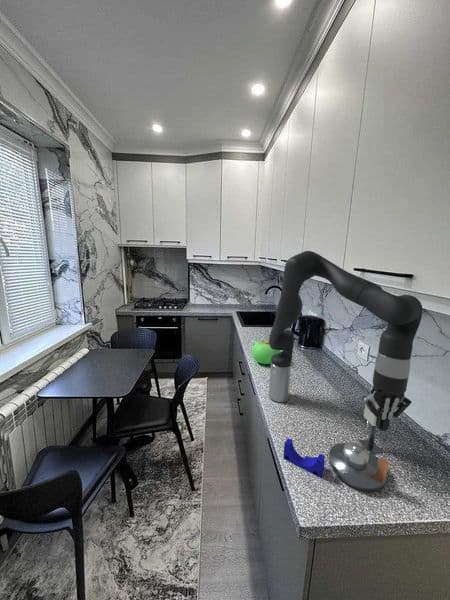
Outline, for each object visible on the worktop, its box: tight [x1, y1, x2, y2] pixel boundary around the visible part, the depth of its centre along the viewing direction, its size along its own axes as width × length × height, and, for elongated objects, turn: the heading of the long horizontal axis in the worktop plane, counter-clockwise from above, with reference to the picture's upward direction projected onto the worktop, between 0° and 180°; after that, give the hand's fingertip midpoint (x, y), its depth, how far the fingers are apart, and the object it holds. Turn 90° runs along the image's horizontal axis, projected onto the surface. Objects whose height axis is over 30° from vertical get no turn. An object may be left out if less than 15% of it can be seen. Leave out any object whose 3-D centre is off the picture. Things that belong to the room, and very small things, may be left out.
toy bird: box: [251, 339, 281, 365], centre depth 156 cm, size 18×17×15 cm
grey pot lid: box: [328, 442, 390, 492], centre depth 78 cm, size 16×16×8 cm
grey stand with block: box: [358, 403, 384, 454], centre depth 87 cm, size 6×5×16 cm
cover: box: [343, 441, 369, 471], centre depth 78 cm, size 7×7×5 cm
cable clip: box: [282, 437, 326, 478], centre depth 80 cm, size 12×4×6 cm, turn 53°
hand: (381, 428), depth 68 cm, fingers closed
